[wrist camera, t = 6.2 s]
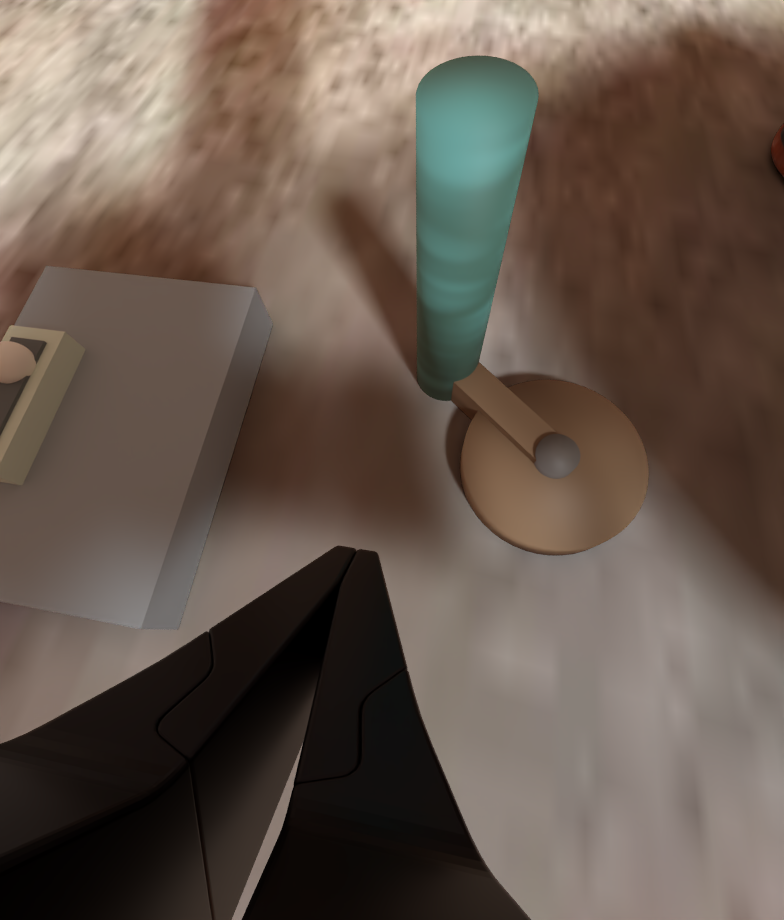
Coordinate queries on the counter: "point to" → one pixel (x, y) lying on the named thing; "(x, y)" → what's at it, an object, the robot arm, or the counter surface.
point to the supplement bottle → (778, 150)
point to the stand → (119, 438)
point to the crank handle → (465, 321)
